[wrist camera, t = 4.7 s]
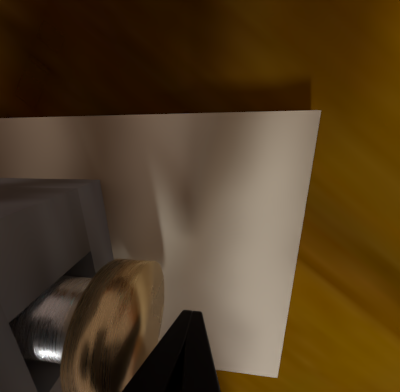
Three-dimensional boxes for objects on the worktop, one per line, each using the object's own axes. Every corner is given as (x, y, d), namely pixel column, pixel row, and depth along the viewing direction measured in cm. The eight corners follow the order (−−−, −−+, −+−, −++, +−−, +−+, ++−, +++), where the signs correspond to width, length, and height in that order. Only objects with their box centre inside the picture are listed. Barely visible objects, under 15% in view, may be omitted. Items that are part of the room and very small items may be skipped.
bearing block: (311, 112, 9) (631, 43, 2) (274, 360, 14) (321, 596, 7) (-90, 122, 12) (-571, 109, 5) (0, 326, 17) (-165, 468, 10)
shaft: (160, 239, 9) (99, 340, 5) (167, 316, 11) (124, 448, 6) (-60, 227, 11) (-260, 294, 6) (-28, 295, 12) (-172, 389, 8)
